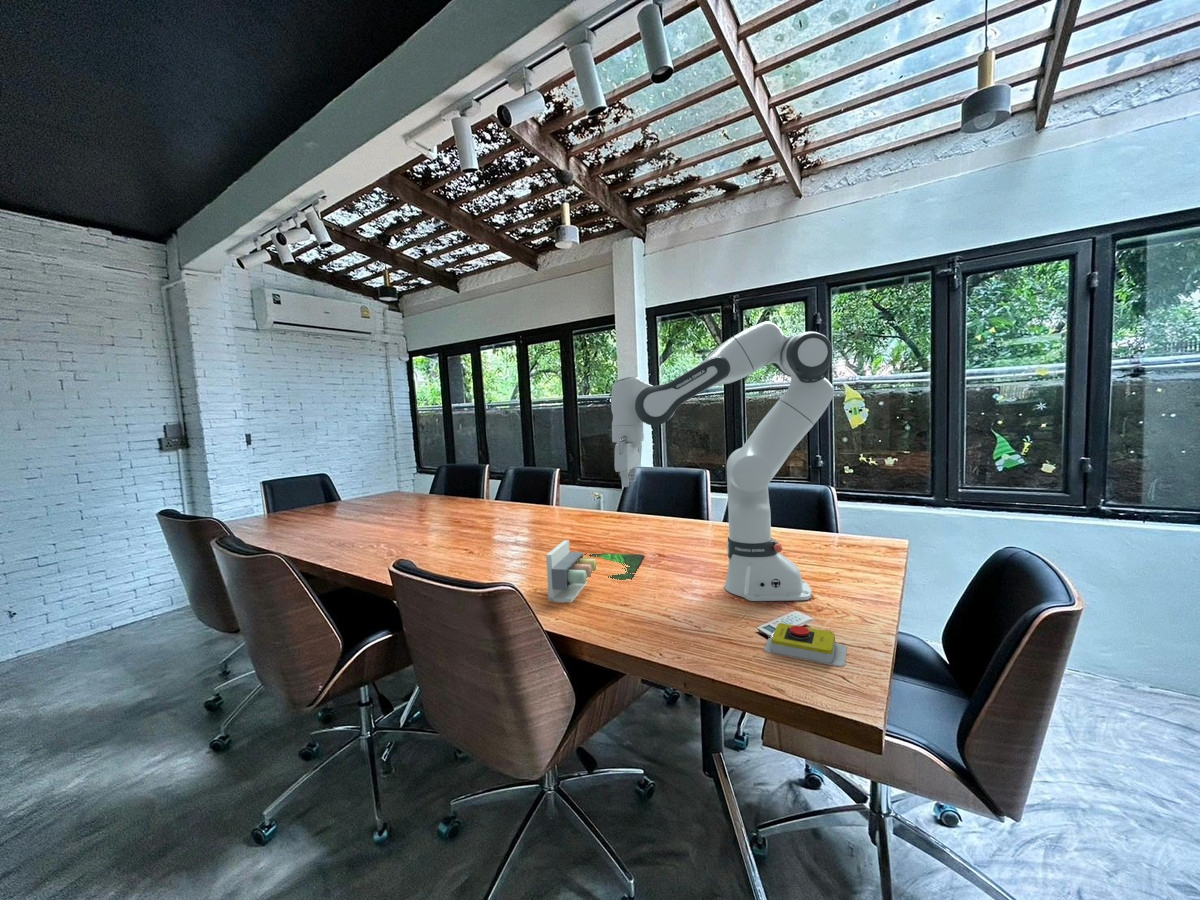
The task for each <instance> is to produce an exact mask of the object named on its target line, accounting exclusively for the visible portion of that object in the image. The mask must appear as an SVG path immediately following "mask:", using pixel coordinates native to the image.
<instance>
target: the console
mask: <svg viewBox="0 0 1200 900" xmlns="http://www.w3.org/2000/svg"><path fill="white" fill-rule="evenodd" d="M545 555H546V556H545V561H546V576H547V577H546V578H547V580H546V581H547V593H548V595H547V597H548V602H549V601H553V602H552V603H564V602H569V603H568V604H572V603H573V601H575V599H576V598H577V596H578V595H579V594H580V593H581V592H582V590H583V589H584V588H585V587H584V586H586V585H587V584H588V581H587V580H586V583H585V584H576V583H567V575H566V571H567V570H568V569H569V570H573V569H572V565H573V564H578V559H579V558H583V556H584V552H583V551H581V552H579V551H570V540H569V539H564V540H563V541H562V542H560V543H559V544H558V545H556V546H555V547H554V548H553V549H552V550H550V551H549V552H548V553H547V554H545ZM583 587H584V588H583ZM571 602H572V603H571Z"/></svg>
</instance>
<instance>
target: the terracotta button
mask: <svg viewBox="0 0 1200 900" xmlns="http://www.w3.org/2000/svg"><path fill="white" fill-rule="evenodd" d="M572 569H573V570H586V574H587V577H591V573H592V567H591V564H573V565H572Z"/></svg>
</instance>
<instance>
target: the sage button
mask: <svg viewBox="0 0 1200 900" xmlns="http://www.w3.org/2000/svg"><path fill="white" fill-rule="evenodd" d="M566 575H567V583H576V584H585V583H586V578H587V574H586V570H569V569H568V570H567V571H566Z"/></svg>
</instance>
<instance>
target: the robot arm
mask: <svg viewBox="0 0 1200 900" xmlns="http://www.w3.org/2000/svg"><path fill="white" fill-rule="evenodd" d="M832 357H833V346H832V343H831V341H830V340H829V338H828V337H826V335H824V334H822V333H820V332H817V331H803V332H802V333H798V334H796V335H794V336H787V335H786V334H785V333H784V332H783V331H782V329H781V328H780V327H779V326H778V325H777V324H775V323H773V322H771V321H763V322H762V321H761V322H760V323H757V324H755V325H753V326H750V327H748V328H746V329H744V330H742V331H740V332H738V333H737V334H734V335H733V336H731V337H730V338H728V339H727V340H725V341H724V342H723V343H721V344H720V345H719V346H717V347H716V348H714V350H713V351H712V352H710V354H708V356H707V357H706V358H704V359H703V360H702V361H701V362H700V363H699V364H697V366H695V367H693V368H692V369H690V370H688V371H686V372H685V373H683V374H681V375H680V376H678V377H677V378H674V379H673V380H671V381H670V382H667V383H664V384H657V385H652V384H650V383H648V382H645V381H644V380H642V379H641V378H640V377H638V376H629V377H628V376H627V377H625V378H621V379H618V380H616V381H615V382H614V383H613V385H612V389H611V394H610V395H611V397H610V399H611V400H610V406H611V413H612V422H611V442H612V443H616V444H615V446H614V470H615V472H616V473H619V477H620V481H621V487H622V488H628V487H629V486H630V483H634V482H636V476H637V475H636V474H637V467H638V466H639V465H640V464H641V461H642V452H643V451H642V448H643V442H644V439H645V436H644V435H645V434H644V424H646V425H649V426H660V425H663V424H664V423H666V422H668V421H669V420H670V419H671V418H672V417H673V416H674V414H675V412H676V410H677V409H678V407H680V406H681V405H682V404H684V403H685V402H687V401H688V400H691V399H692V398H693V397H695V396H697V395H699V394H701V393H703V392H704V391H706V390H708V389H710V388H712V387H716V386H720V385H727V384H732V383H735V382H737V381H739V380H742V379H744V378H746V377H748V376H750V375H752V374H753V373H755V372H757V371H758V370H760V369H762V368H763V367H765V366H767V365H770V364H771V365H772V366H774V367H775V369H778V371H779V372H780V373H782V374H783V375H785V376H787V377H790V384H789V386H788V387H787V390H786V391H785V392H784V393H783V395H781V397H780V398H779V399H778V400H777V402H776V403H775V404H774V405H773V406H772V407H771V409H770V410H769V411H768V412H767V413H766V415H765V416H764V417H763V419H761V421H760V422H759V423H758V425H757V426H756V428H755V429H754V430H753V432H752V433H751V434H750V436H749V437H748V438H747V439H746V441H745V443H743V445H742V447H740V448H737V449H735V450H734V451H733V452H731V454H730V455H729V456H728V458H727V460H726V483H727V484H726V487H727V488H726V490H727V507H728V509H727V510H728V512H727V513H728V537H727V542H726V548H727V549H726V550H727V551H726V552H727V558H728V566H727V574H726V579H725V583H724V586H723V587H724V589H725V591H727V592H728V593H730V594H733V595H736V596H739V597H742V598H744V599H745V600H747V601H751V602H773V601H775V602H777V601H778V602H779V601H780V602H781V601H783V602H784V601H809V600H810V599H811V598H812V588H811V586H810V585H809V584H808V583H807V582H806V581H804V580H803V577H802V574H801V571H800V569H799V568H798V566H797V565H796V564H795V563H794V562H793V561H791V560H790V559H789V558H788V557H786V556H784V555H783V554H781V552H782V551H783V547H782V545H781V544H780V543H779V541H778V540H777V539H775V538H772V532H771V530H772V529H771V526H772V525H771V521H772V519H771V517H772V516H771V506H770V495H769V484H770V482H771V481H772V480H773V478H774V477H775V476H776V474H777V473H778V472H779V470H780V469H781V467H782V466H783V465H784V463H785V462H786V461H787V459H788V458H789V456H790V454H792V451H793V450H794V449H795V448H796V446H797V445H798V444H799V443H800V442H801V441H802V440H803V438H804V437H805V436H806V435H807V434H808V432H810V430H811V429H812V428H813V427H814V426H815V424H816V423H817V422H818V421H819V419H820V418H821V417H822V416H823V414H824V413H825V412H826V410H827V408H828V406H829V405H830V404H831V401H832V400H833V398H834V394H835V390H834V387H833V385H832V383H831V382H830V381H829V380H828V379H827V376H828V375H829V372H830V365H831V361H832Z"/></svg>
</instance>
